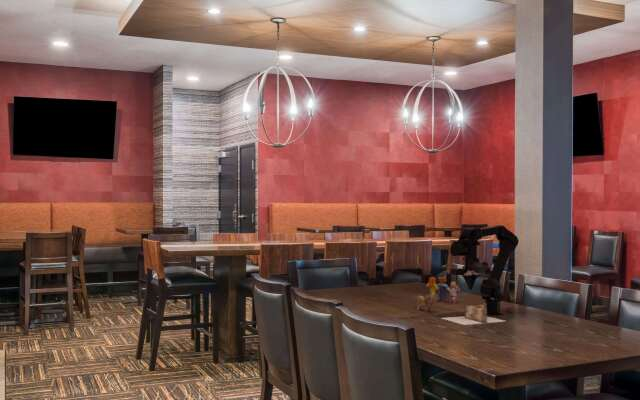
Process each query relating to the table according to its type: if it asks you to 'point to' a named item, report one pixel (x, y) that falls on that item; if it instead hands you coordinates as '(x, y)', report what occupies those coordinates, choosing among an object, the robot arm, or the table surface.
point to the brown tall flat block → (475, 313)
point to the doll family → (443, 289)
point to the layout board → (471, 320)
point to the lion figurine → (426, 301)
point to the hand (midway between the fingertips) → (470, 289)
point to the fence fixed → (480, 306)
